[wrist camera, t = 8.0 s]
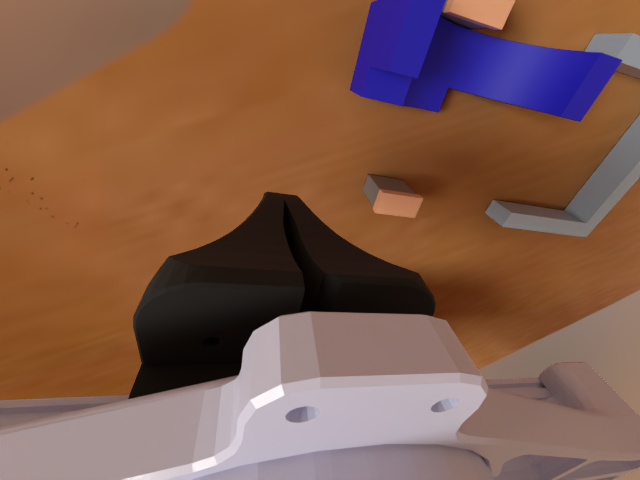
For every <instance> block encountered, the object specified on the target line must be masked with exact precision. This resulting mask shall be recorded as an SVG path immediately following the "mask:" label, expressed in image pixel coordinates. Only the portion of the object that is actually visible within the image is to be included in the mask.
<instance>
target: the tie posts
mask: <svg viewBox="0 0 640 480" xmlns="http://www.w3.org/2000/svg"><path fill="white" fill-rule="evenodd" d="M514 2H515V0H446V1H445V4H444V6H443V9H442V12H441V15H440V16H441V17H442V18H444V19H446V20H447V21H449V22H451V23H453V24H456V25H458V26H461V27H463V28H466V29H478V28H489V29H492V30H502V28H503V26H504V24H505V22H506V20H507V17H508V15H509V13H510V11H511V9H512V7H513V5H514ZM363 191H364V193H365V194H366V196H367V198H368V199H369V201H370V202H371V204H372V205H373V210H374V212H375V213H379V214H387V215H395V216H403V217H411V218H415V216H416V214H417V212H418V210H419V207H420V205H421V203H422V201H423V198H422V197H421V196H420V195H417V194H416V193H415V192H414V191H413V190H412V189H411V188H410V187H409V186H408V185H407V184H406V183H405V182H404V181H403V180H401V179H395V178H389V177H383V176H376V175H370V174H368V176H367V179H366V182H365V185H364V188H363Z"/></svg>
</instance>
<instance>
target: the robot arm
mask: <svg viewBox="0 0 640 480" xmlns="http://www.w3.org/2000/svg"><path fill="white" fill-rule="evenodd" d="M434 312H435V300H434V297H433V295H432V293H431V292H430V290H429V289H428V287H427V286H426V284H425V283H424V281H423V279H422V278H421V276H420V275H419V274H418V273H416V272H413V271H410V270H408V269H405V268H402V267H399V266H396V265H393V264H391V263H388V262H386V261H384V260H381V259H379V258H377V257H375V256H373V255H371V254H369V253H367V252H365V251H363V250H361V249H359V248H358V247H356V246H354V245H352V244H351V243H349V242H348V241H346V240H345V239H343V238H342V237H340V236H339V235H338V234H336V233H335V232H334V231H332V230H331V229H330V228H329V227H328V226H327V225H325V224H324V223H323V222H322V221H321V220H320V219H319V218H318V217H317V216H316V215H315V214H314V213H313V212H312V211H311V210H310V209H309V208H308V207H307V206H306V205H305V204H304V202H303V201H302V200H301V199H300V198H299V197H298V196H296V195H288V194H280V193H273V192H266V193H265V194H264V196H263V199H262V200H261V202H260V204H259V205H258V206H257V208H256V209H255V210H254V211H253V213H252V214H251V215H250V216H249V217H248V218H247V219H246V220H245V221H244V222H243V223H242V224H241V225H239V226H238V227H237V228H236V229H234V230H233V231H232V232H230V233H228V234H227V235H225V236H223V237H222V238H220V239H218V240H216V241H214V242H212V243H209V244H207V245H204V246H202V247H199V248H197V249H194V250H190V251H187V252H183V253H180V254H177V255H173V256H169V257H168V258H167V259H166V261H165V262H164V263H163V265H162V266H161V267H160V269H159V270H158V271H157V273H156V274H155V276H154V277H153V278H152V280H151V281H150V283H149V285H148V287H147V288H146V290H145V292H144V295H143V297H142V299H141V301H140V303H139V305H138V307H137V310H136V312H135V314H134V316H133V328H134V332H135V336H136V340H137V345H138V349H139V353H140V358H141V362H142V365H141V367H140V370H139V372H138V375H137V377H136V380H135V383H134V385H133V388H132V390H131V393H130V395H118V396H94V397H71V398H47V399H23V400H0V480H615V479H618V478H620V477H622V476H625V475H627V474H629V473H631V472H634V471H636V470H638V469H640V416H639V415H638V414H637V413H636V412H635V411H634V410H633V409H632V408H631V407H630V406H629V405H628V404H627V403H626V402H625V401H624V400H623V399H622V398H621V397H620V396H619V395H618V394H617V393H616V392H615V391H614V390H613V389H612V388H611V387H610V386H609V385H608V384H607V383H606V382H605V381H604V380H603V379H602V378H601V377H600V376H599V375H598V374H597V373H596V372H595V371H594V370H593V369H592V368H591V367H590V366H589V365H588V364H587V363H584V362H566V363H565V362H564V363H556V364H554V365H552V366H550V367H548V368H547V369H546V370H545V371H543V372H542V373H541V374H540V376H539V378H519V379H497V380H484V378H483V377H482V375H481V374H480V372H479V370H478V369H477V367H476V366H475V364H474V363H473V361H472V360H471V358H470V356H469V355H468V353H467V352H466V350H465V349H464V347H463V346H462V344H461V343H460V341H459V339H458V338H457V336H456V335H455V333H454V332H453V330H452V329H451V327H450V325H449V324H448V322H447V321H446V320H443V319H439V318H435V317H432V316H433V314H434Z"/></svg>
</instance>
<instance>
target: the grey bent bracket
mask: <svg viewBox="0 0 640 480" xmlns="http://www.w3.org/2000/svg"><path fill="white" fill-rule="evenodd" d="M584 52H601V53H604V54H607V55H610V56H613V57H616V58H618V59H621V60H622V62H621V63H620V65H619V66H618V68H617V69H616V71H618V72H621V73H623V74H626V75H629V76H632V77H635V78H638V79H640V36H639V35H637V34H634V33H618V34H595V35H594V37H593V38H592V40H591V41H590V43H589V45H588V46H587V48H586V50H585V51H584ZM639 178H640V115H639V116H638V117H637V118H636V120H635V121H634V122H633V123H632V125H631V126H630V127H629V128H628V130H627V131H626V132H625V134H624V135H623V136H622V137H621V139H620V140H619V141H618V142H617V144H616V145H615V146H614V147H613V149H612V150H611V151H610V153H609V154H608V155H607V156H606V158H605V159H604V160H603V161H602V163H601V164H600V165H599V166H598V168H597V169H596V170H595V172H594V173H593V174H592V175H591V177H590V178H589V179H588V180H587V182H586V183H585V184H584V186H583V187H582V188H581V189H580V191H579V192H578V193H577V194H576V196H575V197H574V198H573V199H572V201H571V202H570V203H569V205H568V206H567V207H566V208H565V210H564V211H563V210H556V209H550V208H543V207H537V206H530V205H524V204H517V203H511V202H505V201H498V200H493V201H492V202H491V204H490V205H489V207H488V209H487V210H486V212H485V214H487V215H488V216H489V217H490V218H492V219H493V220H494V221H496V222H497V223H498V224H499V225H501V226H502V227H509V228H517V229H524V230H532V231H540V232H548V233H556V234H564V235H572V236H580V237H587V236H588V235H589V234H590V232H591V231H592V230H593V229H594V228H595V227H596V226H597V225H598V223H599V222H600V221H601V220H602V219H603V218H604V217H605V216H606V215H607V213H608V212H609V211H610V210H611V209H612V208H613V207H614V206H615V204H616V203H617V202H618V201H619V200H620V199H621V198H622V197H623V195H624V194H625V193H626V192H627V191H628V190H629V189H630V188H631V187H632V185H633V184H634V183H635V182H636V181H637V180H638V179H639Z"/></svg>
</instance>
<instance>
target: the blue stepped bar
mask: <svg viewBox="0 0 640 480" xmlns="http://www.w3.org/2000/svg"><path fill="white" fill-rule="evenodd" d="M445 1H446V0H377V1H374V2H372V3H371V6H370V10H369V14H368V18H367V22H366V26H365V30H364V34H363V38H362V42H361V47H360V51H359V55H358V59H357V63H356V67H355V71H354V75H353V79H352V83H351V87H350V90H351V91H353V92H354V93H356V94H358V95H360V96H361V97H365V98H370V99H374V100H378V101H383V102H387V103H391V104H395V105H400V106H407V107H415V108H420V109H425V110H430V111H434V112H439V109H440V107H441V104H442V102H443V100H444V97H445V95H446V92H447V90H448V88H451V89H455V90H459V91H462V92H466V93H470V94H474V95H478V96H481V97H485V98H489V99H493V100H497V101H500V102H504V103H508V104H512V105H516V106H520V107H524V108H528V109H532V110H536V111H540V112H544V113H548V114H552V115H556V116H559V117H563V118H567V119H571V120H575V121H579V122H580V121H581V120H582V118H583V117H584V116H585V114H586V113H587V111H588V110H589V108H590V107H591V105H592V104H593V102H594V101H595V100H596V98H597V97H598V95H599V94H600V92H601V91H602V89H603V88H604V87H605V85H606V84H607V82H608V81H609V79H610V78H611V76H612V75H613V73H614V72H615V71H616V69H617V68H618V66H619V65H620V63H621V62H622V60H621V59H618V58H616V57H613V56H610V55H607V54H604V53H601V52H582V51H571V50H562V49H554V48H547V47H540V46H534V45H528V44H523V43H518V42H513V41H508V40H504V39H500V38H496V37H492V36H488V35H484V34H481V33H478V32H475V31H472V30H469V29H466V28H463V27H461V26H458V25H456V24H453V23H451V22H449V21H447V20H446V19H444V18H442V17H441V16H440V15H441V12H442V9H443V6H444V4H445Z"/></svg>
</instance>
